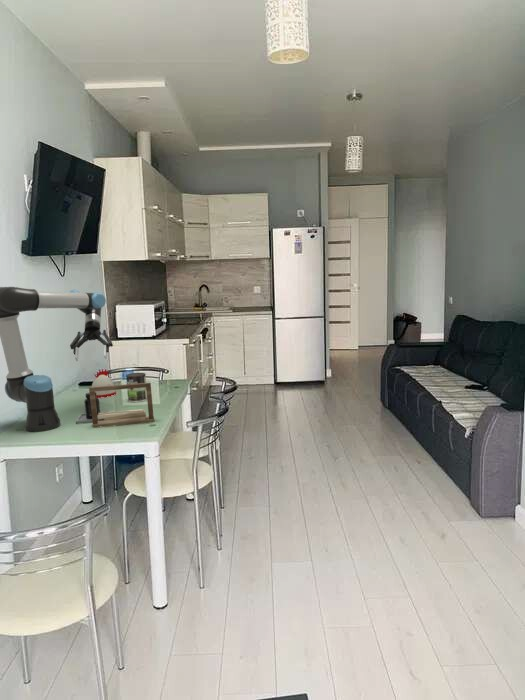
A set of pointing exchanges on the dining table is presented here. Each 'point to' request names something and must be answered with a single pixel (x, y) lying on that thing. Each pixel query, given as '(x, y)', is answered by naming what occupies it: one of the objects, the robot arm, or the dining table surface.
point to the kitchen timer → (103, 384)
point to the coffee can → (136, 393)
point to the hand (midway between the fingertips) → (90, 358)
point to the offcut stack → (121, 416)
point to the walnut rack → (116, 387)
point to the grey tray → (83, 418)
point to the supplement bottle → (88, 406)
